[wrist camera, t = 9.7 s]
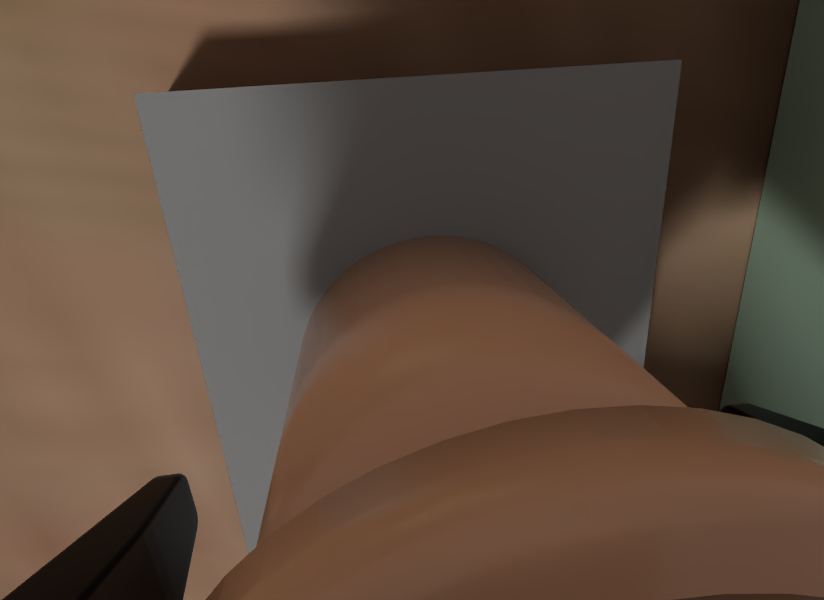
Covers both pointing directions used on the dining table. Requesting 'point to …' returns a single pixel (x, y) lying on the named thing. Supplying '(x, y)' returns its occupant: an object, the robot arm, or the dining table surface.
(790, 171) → the cold frame
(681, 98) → the dining table surface
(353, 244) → the rubber mat
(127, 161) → the dining table surface
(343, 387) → the terracotta pot
